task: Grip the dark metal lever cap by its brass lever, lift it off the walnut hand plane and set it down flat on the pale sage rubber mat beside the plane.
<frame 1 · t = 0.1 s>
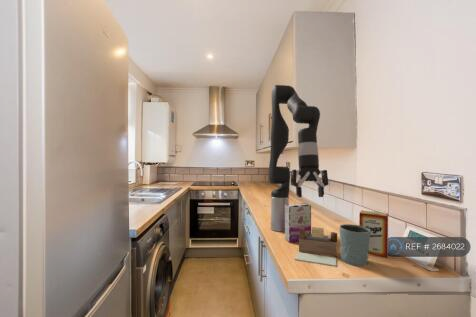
hand: (310, 197, 89), 22 cm above the countertop, tool pointing down, fingers open, 8 cm apart
teal cup: (354, 261, 85), on the countertop
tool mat: (315, 259, 86), on the countertop
baking soda box: (373, 252, 94), on the countertop
candy bar box: (297, 240, 107), on the countertop
lever cap: (317, 238, 94), point 5 cm above the countertop, touching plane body
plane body: (317, 251, 94), on the countertop
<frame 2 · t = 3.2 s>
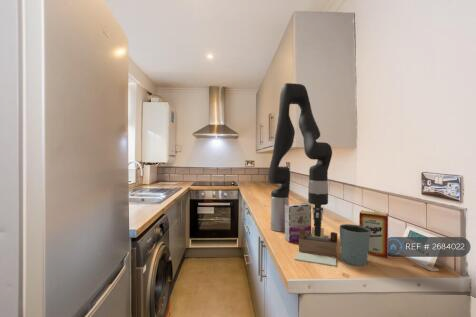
hand: (317, 234, 94), 7 cm above the countertop, tool pointing down, fingers closed on lever cap, 3 cm apart
lever cap: (317, 238, 94), point 5 cm above the countertop, touching gripper, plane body
everything else where it was.
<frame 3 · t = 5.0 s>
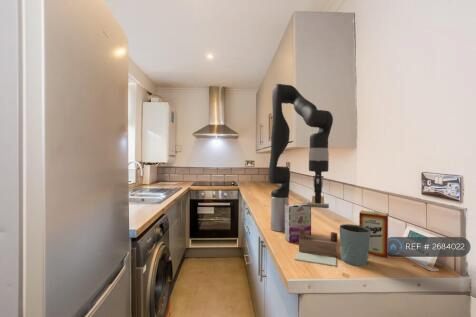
hand: (318, 202, 94), 20 cm above the countertop, tool pointing down, fingers closed on lever cap, 3 cm apart
lever cap: (318, 206, 94), point 18 cm above the countertop, touching gripper
everything else where it was.
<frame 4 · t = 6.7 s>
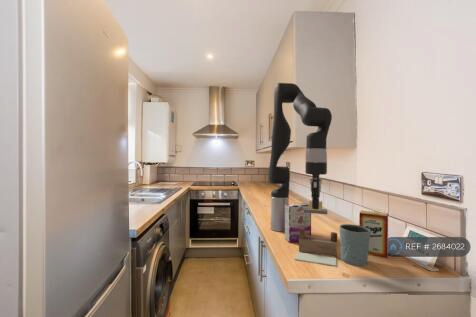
hand: (315, 207, 86), 19 cm above the countertop, tool pointing down, fingers closed on lever cap, 3 cm apart
lever cap: (315, 212, 86), point 17 cm above the countertop, touching gripper
everything else where it was.
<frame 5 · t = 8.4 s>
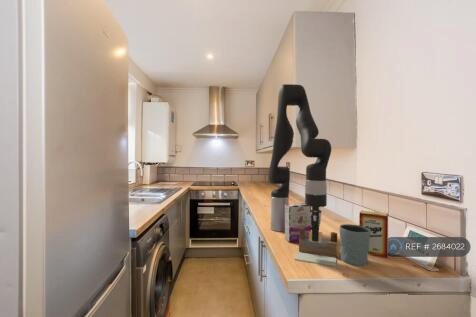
hand: (315, 239, 86), 7 cm above the countertop, tool pointing down, fingers closed on lever cap, 3 cm apart
lever cap: (315, 243, 86), point 6 cm above the countertop, touching gripper
everything else where it was.
when the fingers open (4 cm above the countertop, at t = 10.0 s): lever cap drops 2 cm, resting on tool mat.
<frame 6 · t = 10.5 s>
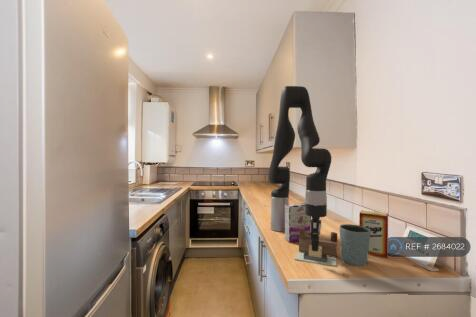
hand: (315, 246, 86), 5 cm above the countertop, tool pointing down, fingers open, 8 cm apart
lever cap: (315, 258, 86), resting on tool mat
everything else where it was.
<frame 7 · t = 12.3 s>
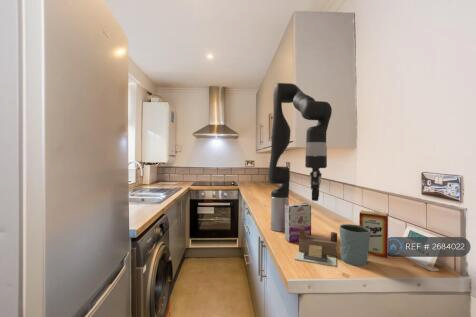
hand: (315, 198, 86), 22 cm above the countertop, tool pointing down, fingers open, 8 cm apart
nothing on the countertop moved.
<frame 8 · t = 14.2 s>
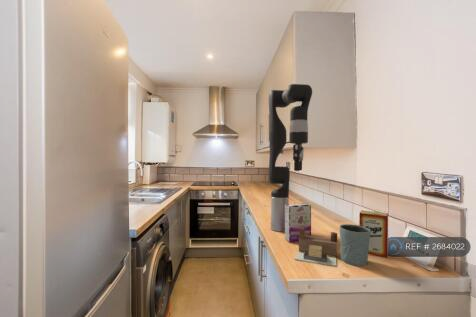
hand: (298, 170, 98), 32 cm above the countertop, tool pointing down, fingers open, 8 cm apart
nothing on the countertop moved.
at the end: lever cap inside the target area on the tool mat (0.1 cm from its centre), point 0.4 cm above the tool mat's base; lever cap tilted 0°; the gripper is holding nothing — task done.
